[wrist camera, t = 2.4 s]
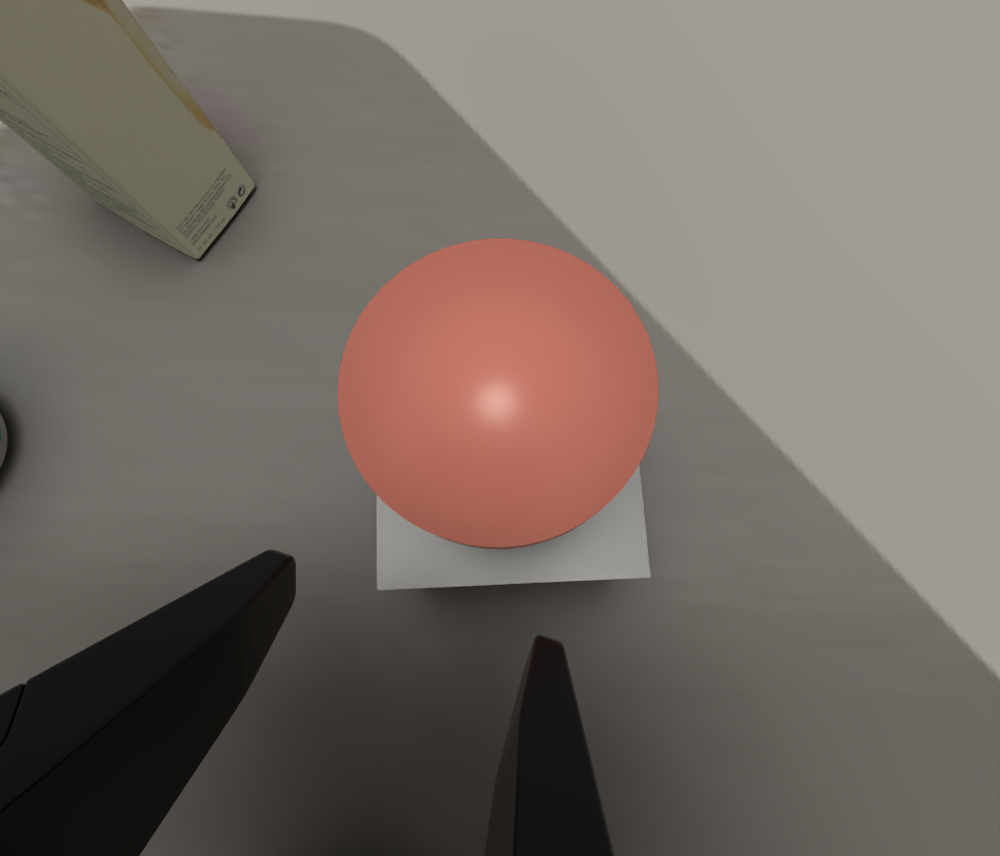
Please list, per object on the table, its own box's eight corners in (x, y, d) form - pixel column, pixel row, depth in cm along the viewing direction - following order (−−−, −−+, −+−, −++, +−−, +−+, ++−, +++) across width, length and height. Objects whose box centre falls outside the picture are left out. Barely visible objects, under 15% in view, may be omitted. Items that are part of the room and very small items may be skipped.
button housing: (612, 575, 23) (650, 577, 16) (420, 585, 23) (376, 590, 16) (596, 390, 24) (625, 320, 17) (417, 400, 24) (376, 334, 18)
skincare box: (261, 186, 27) (52, -120, 15) (199, 265, 26) (-72, 9, 14) (147, 122, 28) (-135, -214, 16) (84, 196, 27) (-259, -97, 15)
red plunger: (612, 552, 17) (675, 538, 10) (413, 562, 18) (335, 555, 10) (596, 362, 19) (641, 229, 11) (410, 373, 19) (339, 247, 12)
